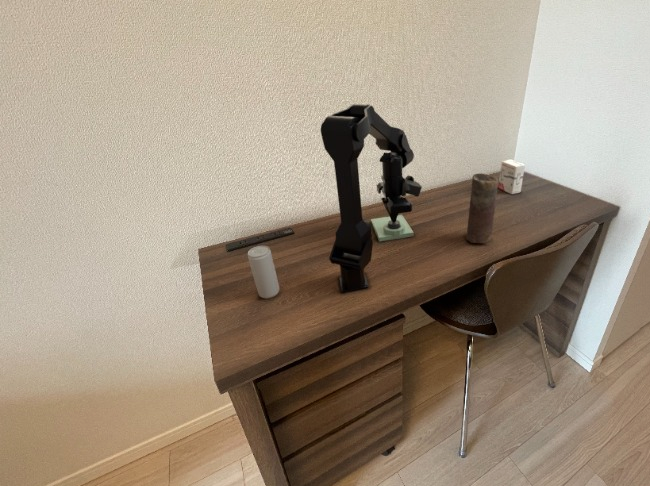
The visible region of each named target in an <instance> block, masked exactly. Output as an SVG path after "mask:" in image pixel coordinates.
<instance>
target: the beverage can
mask: <svg viewBox="0 0 650 486" xmlns="http://www.w3.org/2000/svg"><path fill="white" fill-rule="evenodd" d="M247 259H248V263H249V266H250V270H251V273H252V277H253V280H254V283H255V286H256V290H257V293H258V296H259V297H260V298H263V299H272V298H274V297H275V296H277V295H278V294H279V292H280V285H279V281H278V276H277V272H276V268H275V264H274V260H273V256H272V250H271V249H270V247H269V246H267V245H257V246H254V247H252V248H250V249H249V250H248V252H247Z"/></svg>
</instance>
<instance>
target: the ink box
mask: <svg viewBox="0 0 650 486" xmlns="http://www.w3.org/2000/svg"><path fill="white" fill-rule="evenodd" d="M525 167H526V164H524V163H522V162H519V161H517V160H514V159H506V160H501V165H500V170H499V171H500V172H499V178H498V188H497V189H499V190H502V191H503V192H506V193H508V194H510V195H515V194H520V193H521V191H522V186H523V181H524V180H523V179H524V174H525Z"/></svg>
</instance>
